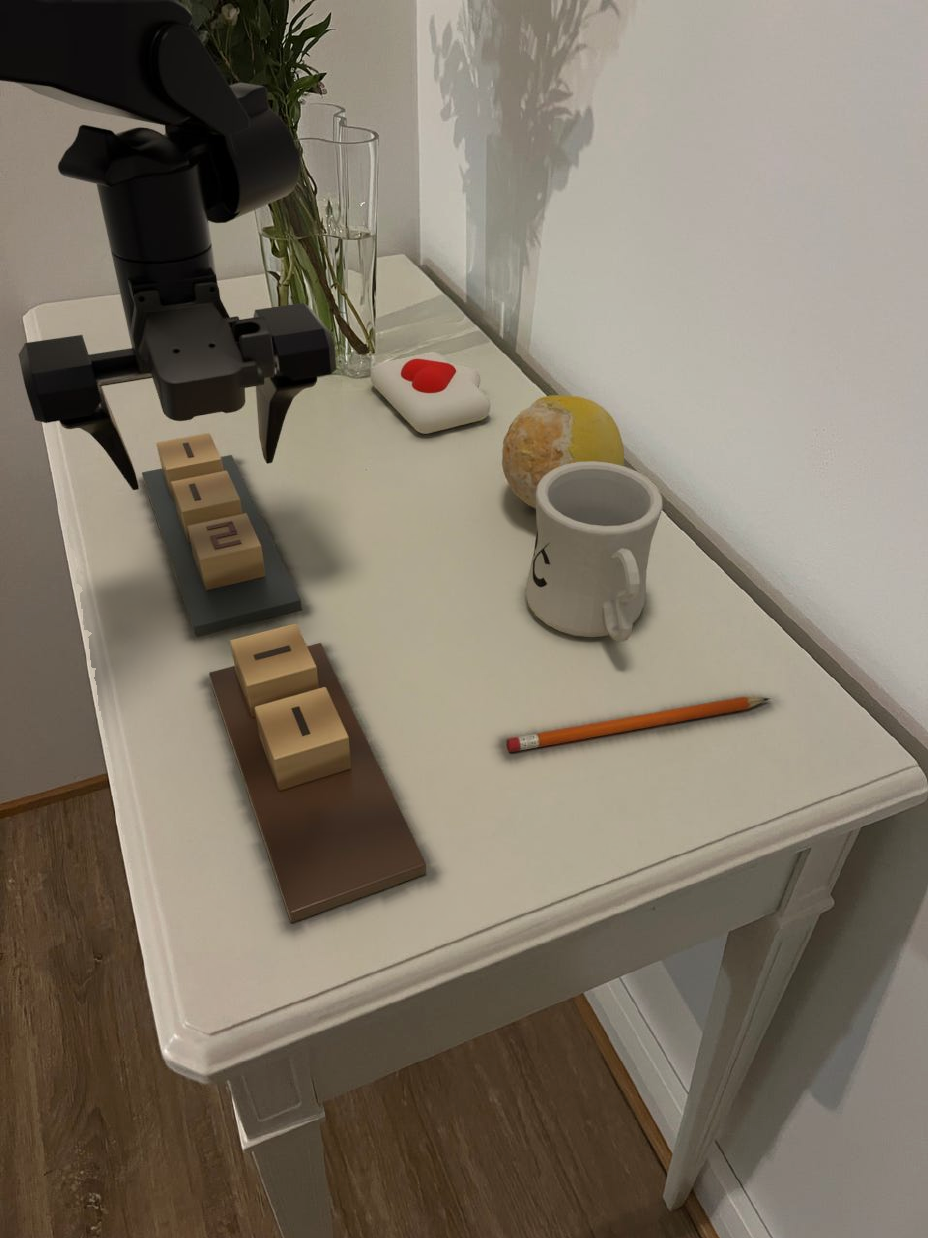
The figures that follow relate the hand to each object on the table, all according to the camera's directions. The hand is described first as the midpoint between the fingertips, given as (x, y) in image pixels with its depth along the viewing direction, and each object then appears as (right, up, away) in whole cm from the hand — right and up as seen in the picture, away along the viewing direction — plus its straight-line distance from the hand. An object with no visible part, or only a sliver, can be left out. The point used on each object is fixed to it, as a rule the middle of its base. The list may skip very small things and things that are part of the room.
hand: (203, 473), depth 65 cm
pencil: (+30, -17, -2) cm, 35 cm away
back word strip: (-2, -4, +12) cm, 13 cm away
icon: (+15, +12, +30) cm, 36 cm away
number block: (0, -6, +8) cm, 10 cm away
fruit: (+26, -1, +17) cm, 31 cm away
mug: (+28, -10, +6) cm, 30 cm away
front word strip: (+8, -20, -6) cm, 22 cm away
